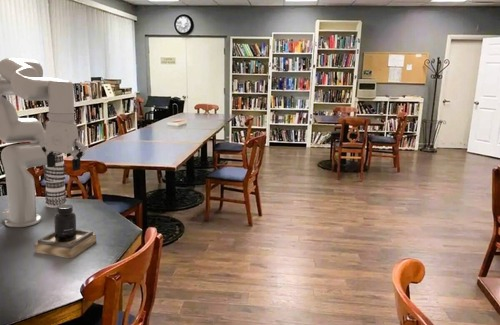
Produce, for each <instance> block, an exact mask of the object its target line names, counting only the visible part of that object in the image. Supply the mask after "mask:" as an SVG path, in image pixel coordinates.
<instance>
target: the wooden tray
mask: <svg viewBox="0 0 500 325" xmlns="http://www.w3.org/2000/svg"><path fill="white" fill-rule="evenodd" d="M96 242H97V233H94V231H91V230H86V229H78V228H76V238H75V239H74V240H72V241H69V242H58V241H56V240H55V230H53V231H52V232H50V233H48V234H46V235H45V236H43V237H40V238H39V239H38V240H37V242H35V243H34V244H33V245H34V253H37V254H42V255H49V256H54V257H55V256H56V257H62V258H67V259H73V258H75V257H76V256H77V255H79V254H80V253H81V252H83V251H85V250H86V249H87V248H89V247H91V246H92V245H93V244H95V243H96Z"/></svg>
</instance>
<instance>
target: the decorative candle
mask: <svg viewBox="0 0 500 325" xmlns="http://www.w3.org/2000/svg"><path fill="white" fill-rule="evenodd" d="M53 154H55V166H53V167H47V165H43V167H42V169H43V171H42V172H43V173H44V174H43V180H44V182H45V191H44V193H45V195H44V196H45V198H44V199H45V203H46V204H45V206H46V207H47V208H53V209H54V208H55V209H57V207H58V206H59V205H65V204H67V189H66V185H65V181H66V177H65V175H66V169H65V168H66V167H67V166H66V165H65V164H66V162H65V161H64V154H65V153H57V152H54V153H53Z"/></svg>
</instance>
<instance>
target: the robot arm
mask: <svg viewBox="0 0 500 325" xmlns="http://www.w3.org/2000/svg"><path fill="white" fill-rule="evenodd" d="M43 76H44V70H43V66H42V65H41V64H40V62H39V61H37V60H35V59H28V58H26V59H25V58H17V57H16V58H15V57H6V58H4V59H1V60H0V141H1V142H2V143H5V144H11V145H8V146H6V147H4V148H3V149H2V150H1V151H0V152H1V153H0V159H1V162H2V166H3V170H4V174H5V183H6V185H5V186H6V195H7V207H8V208H5V209H4V210H3V211H2V212H1V216H6V219H5V220H4V225H5V226H7V227H10V228H26V227H31V226H33V225H36V224H39V223H40V222H41V221H42V216H41V215H40V214H37V203H36V202H37V199H36V186H35V178H34V176H33V175H32V174H31V173H30V172H29V171H28V169H30V168H35V167H42V166H43V167H44V165H47V167H53V166H55V154H53V153H54V152H57V153H62V154H70V155H71V157H72V159H71V161H72V162H71V164H72V171H73V172H77V171H78V170H80V169H81V158H83V156H85V154H86V151H87V149H88V147H87V145H85V144H84V143H82V142H81V141H80V138H79V130H78V125H77V123H76V122H75V100H74V97H75V96H74V84H73V82H71V80H65V79H61V78H56V77H54V78H53V77H43ZM3 96H17V97H19V98H21V99H23V100H24V101H25V100H26V101H30V102H38V101H39V102H40V101H42V102H43V101H48V112H47V114H46V117H47V118H48V121H47V122H46V124H45V125H46V126H45V128H44V127H43V124H42V123H41V121H39V119H37V118H33V117H19V115H18V112H17V109H16V107H15V106H14V105H13V103H11V102H10V101H9V100H8V99H7V98H4V97H3ZM18 143H19V144H18Z"/></svg>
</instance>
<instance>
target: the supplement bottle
mask: <svg viewBox="0 0 500 325" xmlns="http://www.w3.org/2000/svg"><path fill="white" fill-rule="evenodd" d="M73 209H74V208H73V205H72V204H67V203H66V204H65V205H59V206H58V207H56V214H55V215H54V231H55V240H56V241H58V242H69V241H72V240H74V239H75V238H76V229H77V214H76V213H74V210H73Z"/></svg>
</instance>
